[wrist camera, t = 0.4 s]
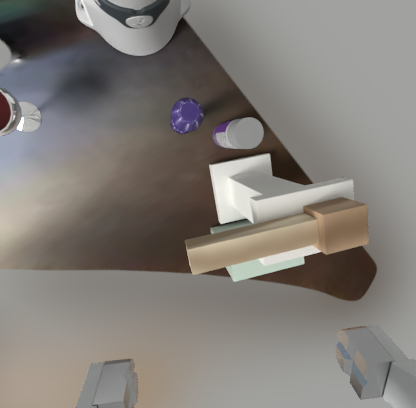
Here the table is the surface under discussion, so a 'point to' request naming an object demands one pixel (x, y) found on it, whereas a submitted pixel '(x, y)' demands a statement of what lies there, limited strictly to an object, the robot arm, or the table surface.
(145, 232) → the table surface
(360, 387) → the robot arm
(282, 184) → the white i-beam pillar
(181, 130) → the toy lamp
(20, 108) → the wineglass
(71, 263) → the table surface
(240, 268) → the pale green rectangular block
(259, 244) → the tan long block
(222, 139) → the container
